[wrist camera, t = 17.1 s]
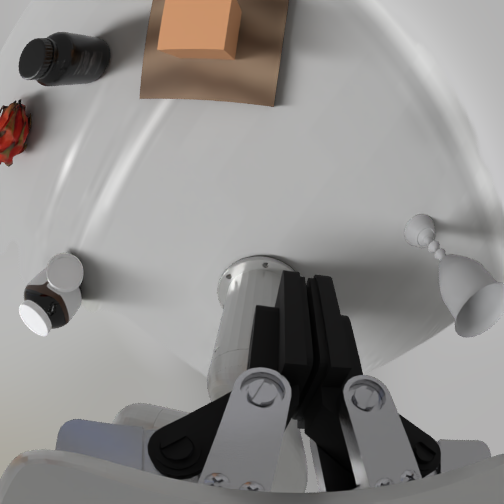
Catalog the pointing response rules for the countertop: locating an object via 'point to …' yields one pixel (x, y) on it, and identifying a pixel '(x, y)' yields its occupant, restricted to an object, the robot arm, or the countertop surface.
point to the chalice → (460, 282)
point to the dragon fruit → (13, 131)
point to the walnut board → (220, 60)
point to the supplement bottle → (64, 59)
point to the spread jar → (53, 295)
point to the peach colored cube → (200, 29)
